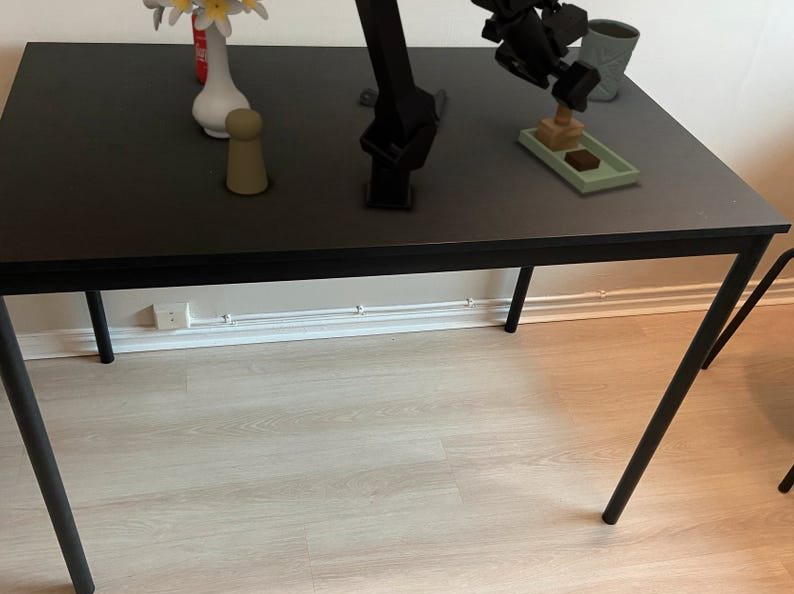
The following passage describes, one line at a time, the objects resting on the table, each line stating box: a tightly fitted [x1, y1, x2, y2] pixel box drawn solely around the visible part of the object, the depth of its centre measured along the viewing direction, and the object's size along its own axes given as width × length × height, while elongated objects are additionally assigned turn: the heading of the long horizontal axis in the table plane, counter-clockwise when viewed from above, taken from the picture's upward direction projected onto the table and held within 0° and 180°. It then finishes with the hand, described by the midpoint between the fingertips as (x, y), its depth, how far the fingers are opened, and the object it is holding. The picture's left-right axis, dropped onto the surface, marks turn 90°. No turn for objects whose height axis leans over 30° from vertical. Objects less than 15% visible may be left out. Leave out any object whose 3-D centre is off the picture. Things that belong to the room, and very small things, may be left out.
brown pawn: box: [225, 108, 269, 195], centre depth 101 cm, size 6×6×11 cm
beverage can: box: [190, 7, 208, 85], centre depth 127 cm, size 5×5×12 cm
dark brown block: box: [564, 149, 601, 172], centre depth 114 cm, size 4×4×2 cm
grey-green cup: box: [576, 18, 641, 102], centre depth 134 cm, size 10×10×12 cm
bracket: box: [359, 87, 447, 128], centre depth 126 cm, size 14×15×3 cm
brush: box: [536, 63, 585, 152], centre depth 115 cm, size 6×4×13 cm
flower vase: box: [142, 0, 269, 139], centre depth 108 cm, size 13×18×25 cm
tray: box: [518, 127, 641, 194], centre depth 116 cm, size 18×11×2 cm, turn 24°
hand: (565, 98), depth 114 cm, fingers open, 9 cm apart
